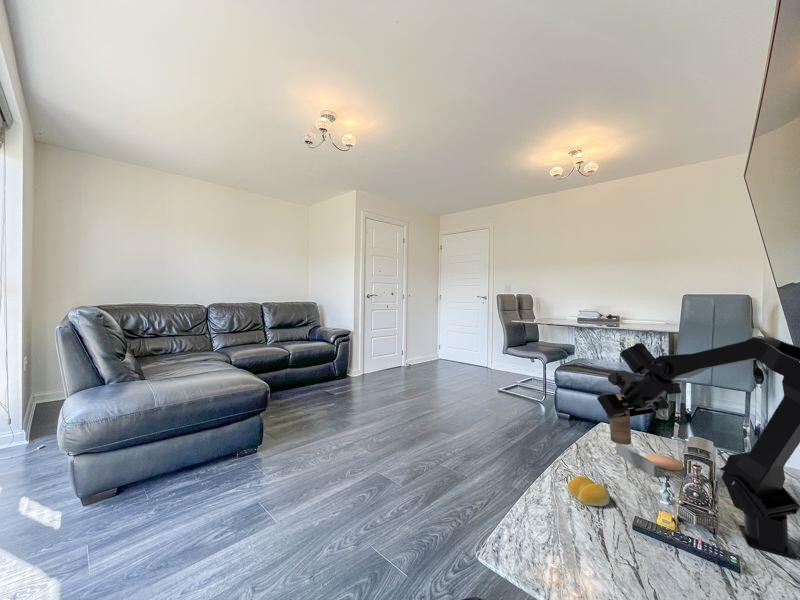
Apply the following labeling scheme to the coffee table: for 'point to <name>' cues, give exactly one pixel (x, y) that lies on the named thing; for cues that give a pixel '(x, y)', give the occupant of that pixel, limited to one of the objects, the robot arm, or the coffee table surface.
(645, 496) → the coffee table surface
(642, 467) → the grey acrylic wall
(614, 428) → the walnut pin
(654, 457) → the terracotta coaster
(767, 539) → the robot arm
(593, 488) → the bread roll
